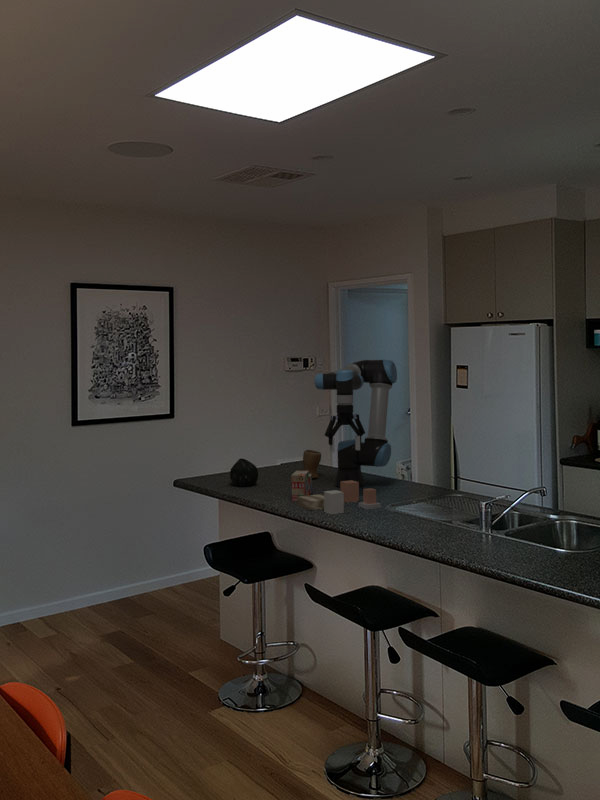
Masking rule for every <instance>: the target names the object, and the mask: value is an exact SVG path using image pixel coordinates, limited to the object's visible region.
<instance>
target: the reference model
mask: <svg viewBox="0 0 600 800" xmlns="http://www.w3.org/2000/svg"><path fill="white" fill-rule="evenodd" d="M362 489H363V491H362V493H363V495H362V496H363V497H362V499H363V500H362V501H361V502H360V501H359V502H358V508H360V507H362V508H361V509H363V508H364V510H366V509H367V510H366V511H369V509H370V510H376V509H377V508H378V509H381V508H382V503H381V502H377V489H376V488H373V487H372V488H362Z"/></svg>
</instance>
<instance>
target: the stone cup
mask: <svg viewBox="0 0 600 800" xmlns="http://www.w3.org/2000/svg"><path fill="white" fill-rule="evenodd" d="M302 456H303V457H302V464H303V469H298V470H297V471H309V474H312V479H317V478H319V474H318V473H317V471H318V467H319V465H320V463H321V459H322V452H320V451H317V450H313V449H305V450H304V452H303V455H302Z"/></svg>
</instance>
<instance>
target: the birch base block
mask: <svg viewBox="0 0 600 800" xmlns="http://www.w3.org/2000/svg"><path fill="white" fill-rule="evenodd" d="M296 502H297V507H300V508H302V509H305V510H307V509H308V510H307V511H310V510H313V511H318V510H317V509H320V510H324V494H321V493H320V494H319V493H318V494H311V495H309V496H301V497H297V501H296Z"/></svg>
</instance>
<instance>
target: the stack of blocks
mask: <svg viewBox="0 0 600 800" xmlns="http://www.w3.org/2000/svg"><path fill="white" fill-rule="evenodd" d="M290 477H291V501H292V502H297V497H301V496H309V495H310V494H311V493H312V494H313V478H312V474H309V471H298V470H295V472H293V473H292V474H291V476H290ZM312 494H311V495H312Z"/></svg>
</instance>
